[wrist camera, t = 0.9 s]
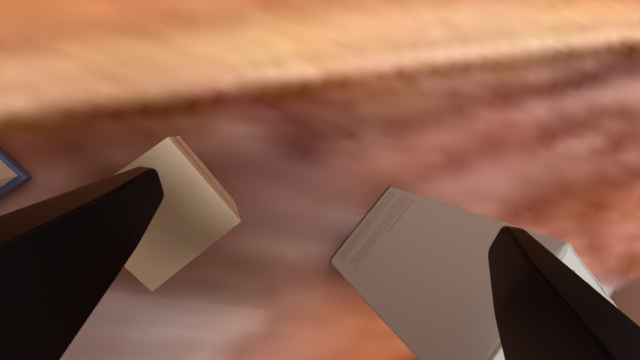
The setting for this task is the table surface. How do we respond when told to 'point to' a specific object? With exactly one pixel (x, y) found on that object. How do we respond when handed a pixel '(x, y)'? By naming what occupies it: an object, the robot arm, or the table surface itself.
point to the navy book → (10, 174)
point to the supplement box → (434, 274)
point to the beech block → (180, 213)
